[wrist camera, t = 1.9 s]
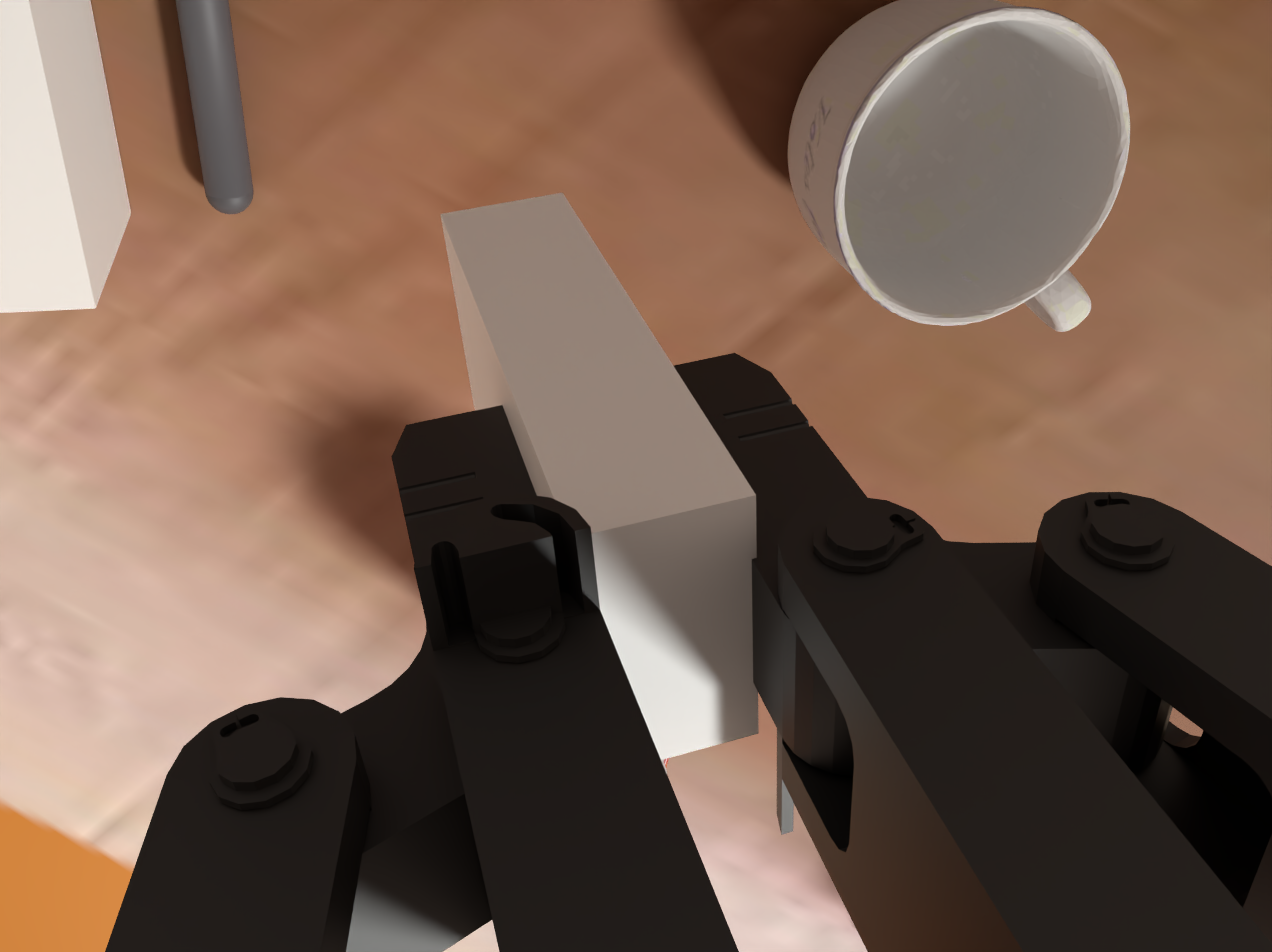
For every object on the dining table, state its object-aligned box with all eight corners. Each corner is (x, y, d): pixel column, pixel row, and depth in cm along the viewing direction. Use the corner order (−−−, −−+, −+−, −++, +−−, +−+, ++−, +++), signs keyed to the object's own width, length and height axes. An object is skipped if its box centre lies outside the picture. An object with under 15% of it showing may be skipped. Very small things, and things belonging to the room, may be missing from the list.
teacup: (715, 71, 44) (784, 136, 37) (974, -97, 43) (1092, -60, 36) (857, 347, 52) (934, 441, 45) (1079, 212, 50) (1191, 289, 44)
